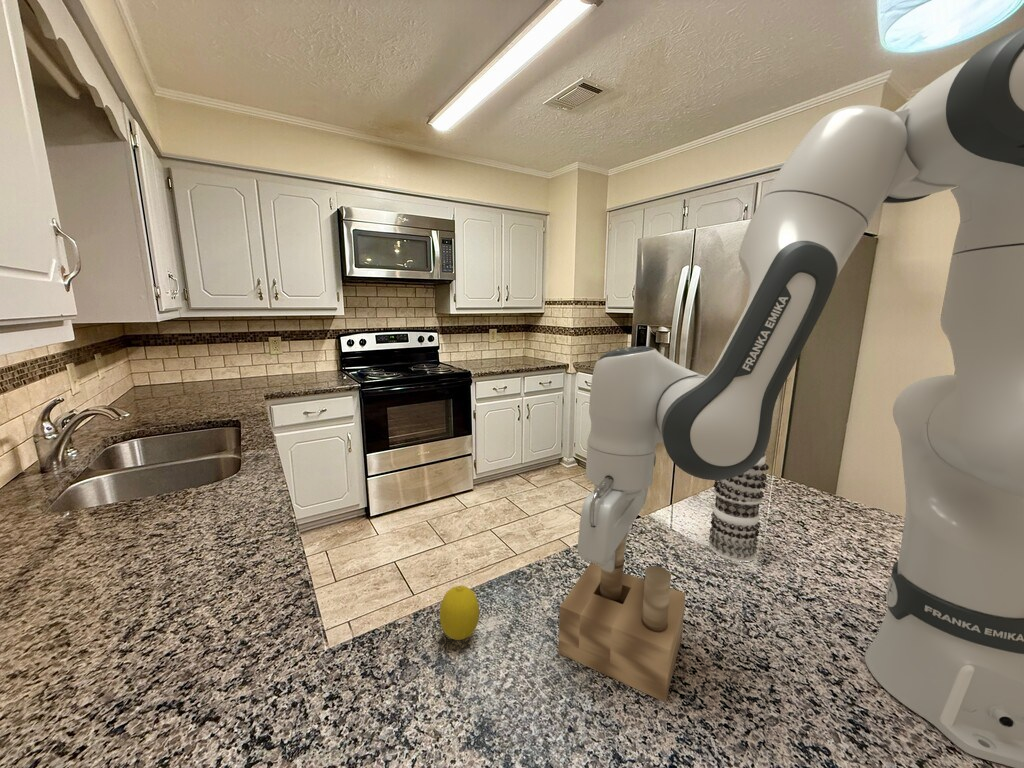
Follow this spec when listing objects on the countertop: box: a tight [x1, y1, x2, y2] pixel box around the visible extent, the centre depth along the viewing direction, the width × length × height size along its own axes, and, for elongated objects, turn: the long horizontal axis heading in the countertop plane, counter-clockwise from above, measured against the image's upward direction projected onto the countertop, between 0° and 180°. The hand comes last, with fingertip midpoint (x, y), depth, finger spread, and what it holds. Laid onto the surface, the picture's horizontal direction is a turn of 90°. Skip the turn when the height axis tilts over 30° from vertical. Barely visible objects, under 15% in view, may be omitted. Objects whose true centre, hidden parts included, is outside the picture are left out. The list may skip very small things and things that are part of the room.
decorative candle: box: [708, 452, 770, 563], centre depth 80 cm, size 9×9×25 cm
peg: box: [600, 535, 626, 600], centre depth 57 cm, size 3×3×12 cm
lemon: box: [439, 585, 480, 641], centre depth 57 cm, size 6×6×8 cm
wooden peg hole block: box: [557, 562, 686, 703], centre depth 56 cm, size 14×12×14 cm
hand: (613, 560), depth 57 cm, fingers closed on peg, 3 cm apart
